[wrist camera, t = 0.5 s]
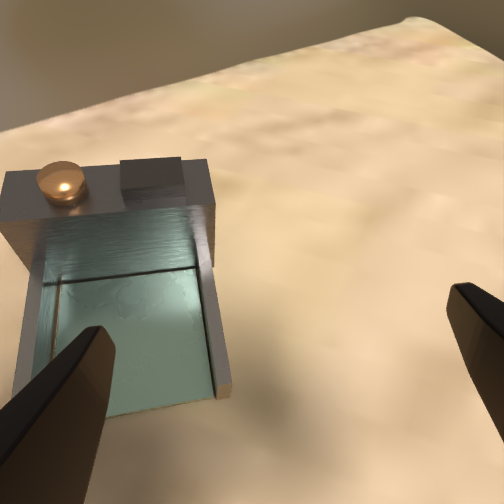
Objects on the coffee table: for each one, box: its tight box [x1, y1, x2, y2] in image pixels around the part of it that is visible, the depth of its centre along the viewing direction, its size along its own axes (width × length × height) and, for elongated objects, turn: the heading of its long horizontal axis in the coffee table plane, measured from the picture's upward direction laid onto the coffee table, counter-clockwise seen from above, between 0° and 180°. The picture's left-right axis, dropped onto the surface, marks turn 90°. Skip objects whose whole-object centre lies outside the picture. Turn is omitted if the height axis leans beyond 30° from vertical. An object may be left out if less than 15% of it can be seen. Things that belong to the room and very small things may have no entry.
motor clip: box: [0, 157, 232, 418], centre depth 22 cm, size 14×12×8 cm
